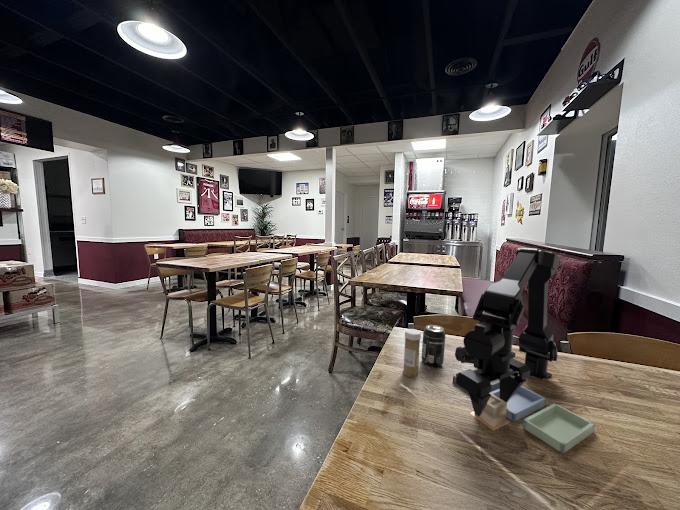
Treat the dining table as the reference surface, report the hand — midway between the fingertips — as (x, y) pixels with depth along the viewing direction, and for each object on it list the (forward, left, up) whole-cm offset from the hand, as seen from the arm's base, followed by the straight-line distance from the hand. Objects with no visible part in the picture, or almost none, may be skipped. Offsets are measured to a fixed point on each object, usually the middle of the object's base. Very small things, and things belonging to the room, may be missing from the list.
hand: (490, 409), depth 63 cm
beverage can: (-7, -25, -3) cm, 26 cm away
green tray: (-10, +9, -3) cm, 14 cm away
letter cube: (0, 0, -2) cm, 2 cm away
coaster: (0, 0, -3) cm, 3 cm away
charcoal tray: (-10, -10, -3) cm, 15 cm away
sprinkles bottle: (+4, -23, -3) cm, 23 cm away
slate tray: (-10, 0, -3) cm, 11 cm away
